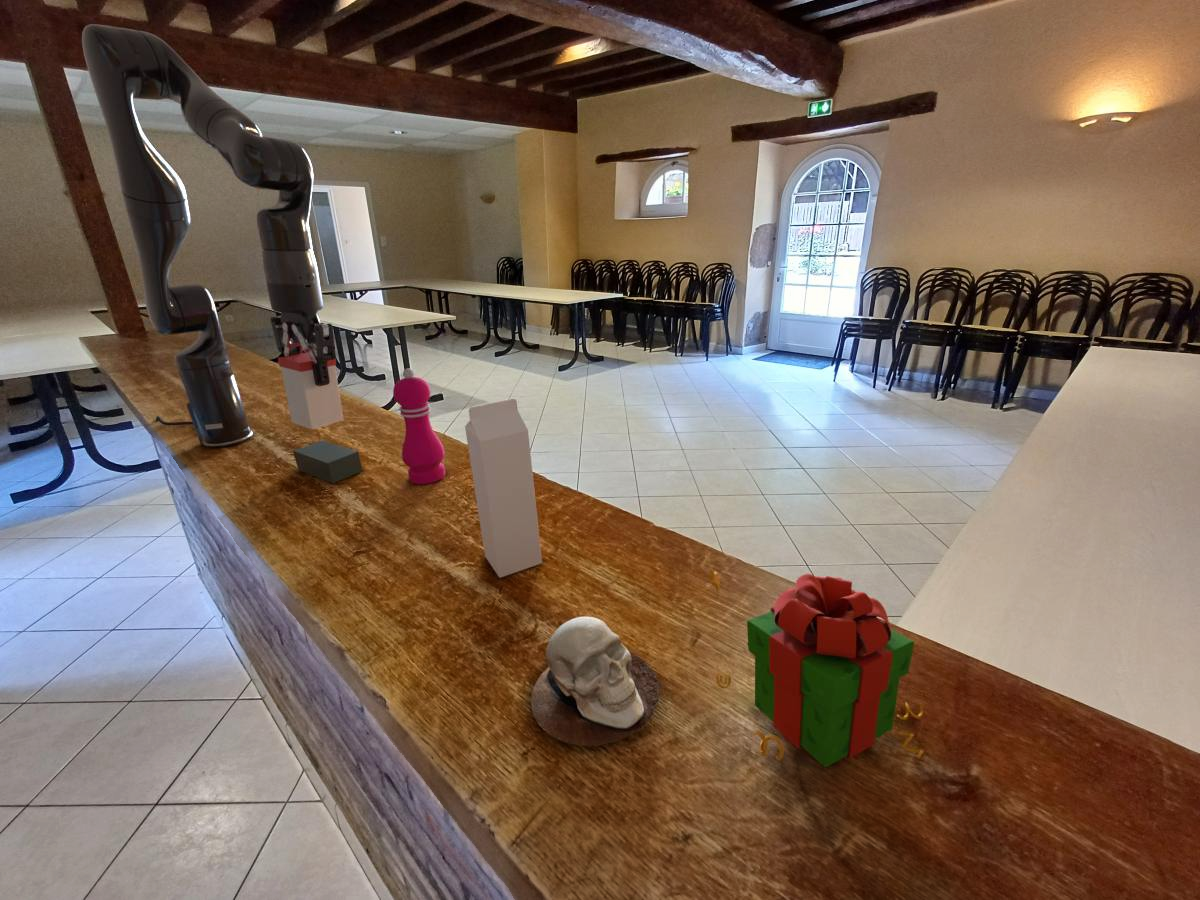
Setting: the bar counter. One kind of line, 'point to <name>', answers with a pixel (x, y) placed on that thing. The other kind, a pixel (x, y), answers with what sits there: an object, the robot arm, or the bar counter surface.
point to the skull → (592, 686)
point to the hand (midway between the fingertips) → (310, 381)
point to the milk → (504, 486)
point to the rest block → (328, 461)
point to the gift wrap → (827, 669)
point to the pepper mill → (418, 430)
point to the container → (310, 392)
